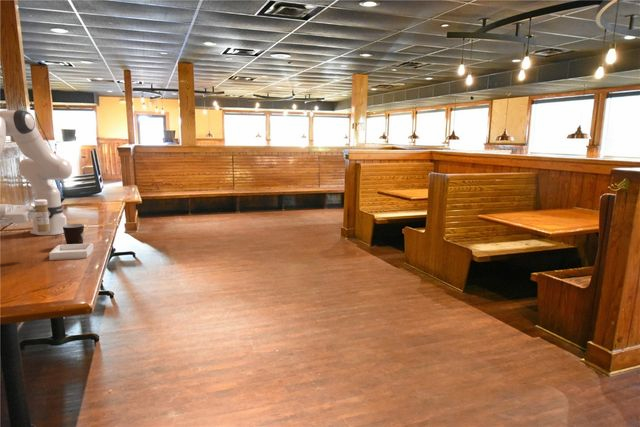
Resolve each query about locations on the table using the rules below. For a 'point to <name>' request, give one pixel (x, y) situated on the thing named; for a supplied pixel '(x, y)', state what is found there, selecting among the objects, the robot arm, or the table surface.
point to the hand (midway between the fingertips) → (43, 212)
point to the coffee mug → (74, 233)
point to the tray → (71, 251)
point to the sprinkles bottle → (44, 220)
